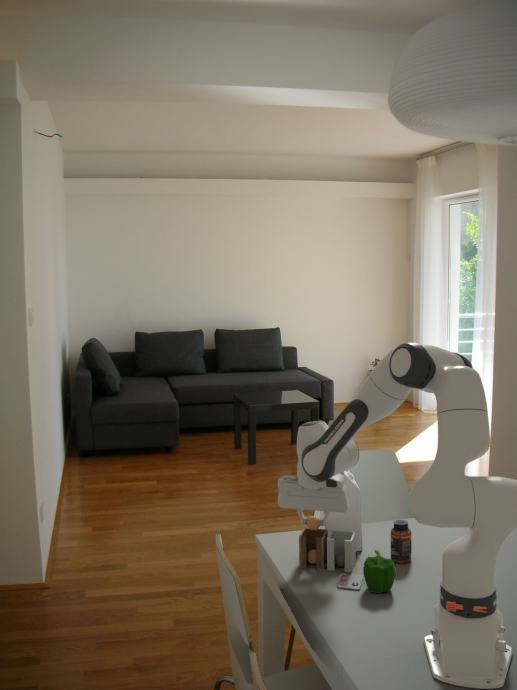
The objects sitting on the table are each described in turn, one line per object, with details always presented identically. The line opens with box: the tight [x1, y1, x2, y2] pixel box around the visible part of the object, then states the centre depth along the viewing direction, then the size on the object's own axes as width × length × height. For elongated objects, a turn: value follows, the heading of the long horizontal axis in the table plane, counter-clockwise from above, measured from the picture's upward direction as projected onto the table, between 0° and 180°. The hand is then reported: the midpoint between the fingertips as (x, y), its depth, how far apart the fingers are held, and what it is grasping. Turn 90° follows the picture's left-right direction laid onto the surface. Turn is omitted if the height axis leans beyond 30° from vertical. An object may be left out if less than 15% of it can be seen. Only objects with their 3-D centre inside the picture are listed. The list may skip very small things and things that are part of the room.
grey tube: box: [326, 530, 357, 573], centre depth 200 cm, size 7×7×9 cm
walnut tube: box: [298, 527, 328, 570], centre depth 202 cm, size 7×7×9 cm
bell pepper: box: [362, 549, 396, 594], centre depth 185 cm, size 8×8×10 cm
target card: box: [336, 573, 364, 591], centre depth 190 cm, size 8×6×1 cm
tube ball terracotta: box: [307, 549, 317, 565], centre depth 202 cm, size 4×4×4 cm
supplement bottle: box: [390, 519, 413, 564], centre depth 203 cm, size 6×6×11 cm
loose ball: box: [306, 515, 320, 530], centre depth 201 cm, size 4×4×4 cm
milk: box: [319, 470, 364, 552], centre depth 215 cm, size 12×12×26 cm
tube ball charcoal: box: [334, 552, 345, 567], centre depth 200 cm, size 4×4×4 cm
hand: (313, 524), depth 201 cm, fingers closed on loose ball, 4 cm apart
